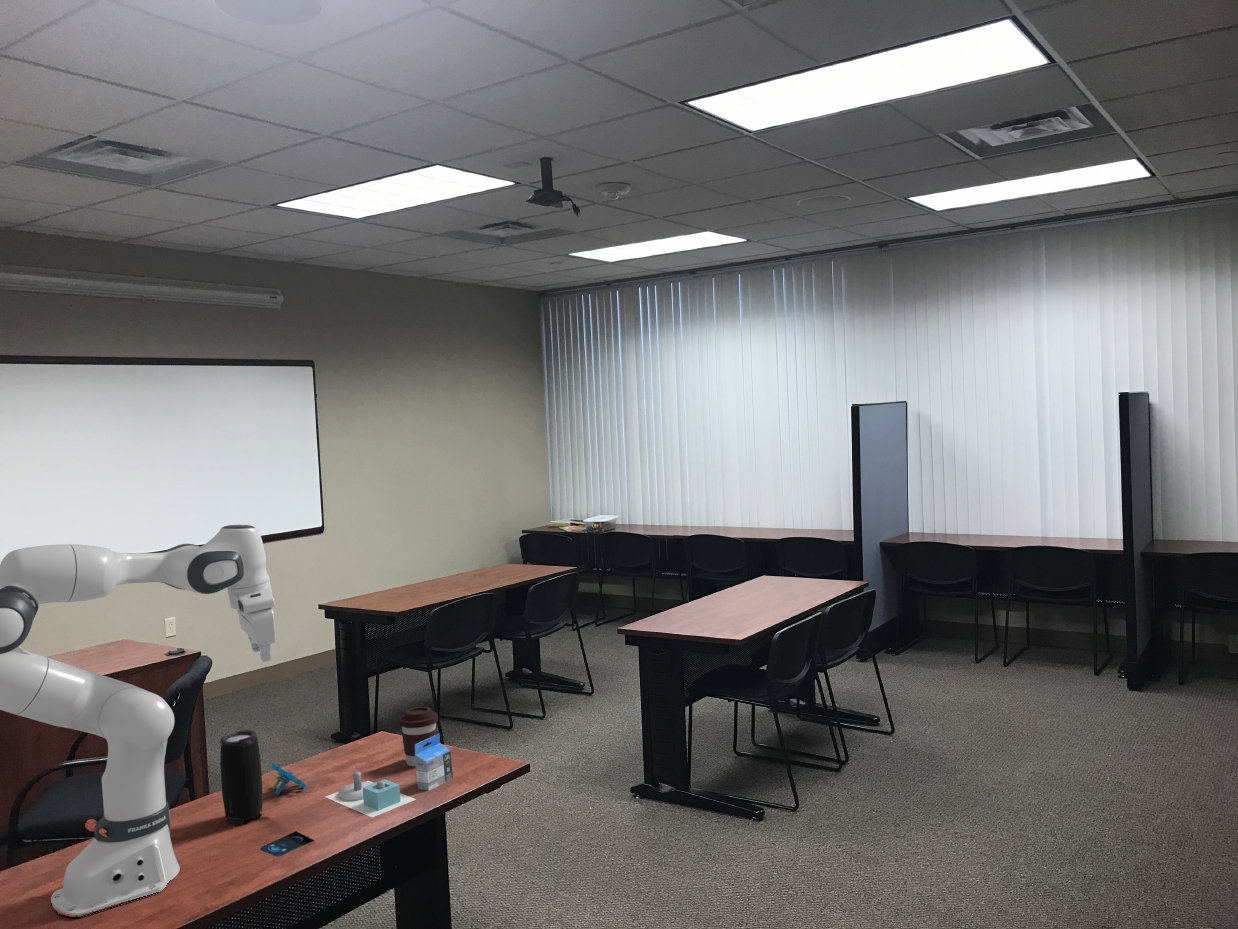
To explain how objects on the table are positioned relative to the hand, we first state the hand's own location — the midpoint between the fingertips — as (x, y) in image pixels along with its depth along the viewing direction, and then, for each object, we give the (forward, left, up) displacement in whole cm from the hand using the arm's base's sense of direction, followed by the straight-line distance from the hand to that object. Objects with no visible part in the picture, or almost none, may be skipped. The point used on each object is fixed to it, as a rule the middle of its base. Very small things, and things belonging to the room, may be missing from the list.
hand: (261, 655), depth 203 cm
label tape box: (+36, -12, -40) cm, 55 cm away
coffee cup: (+43, +4, -40) cm, 59 cm away
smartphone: (+1, -9, -40) cm, 41 cm away
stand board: (+21, -6, -40) cm, 45 cm away
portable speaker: (-1, +12, -40) cm, 41 cm away
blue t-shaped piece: (+14, +19, -40) cm, 46 cm away
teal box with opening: (+21, -11, -38) cm, 45 cm away
